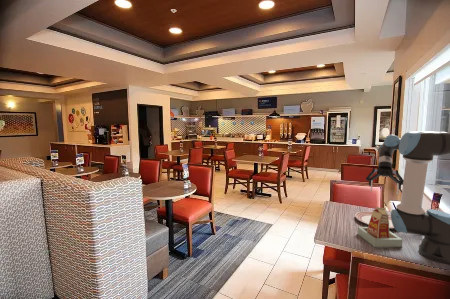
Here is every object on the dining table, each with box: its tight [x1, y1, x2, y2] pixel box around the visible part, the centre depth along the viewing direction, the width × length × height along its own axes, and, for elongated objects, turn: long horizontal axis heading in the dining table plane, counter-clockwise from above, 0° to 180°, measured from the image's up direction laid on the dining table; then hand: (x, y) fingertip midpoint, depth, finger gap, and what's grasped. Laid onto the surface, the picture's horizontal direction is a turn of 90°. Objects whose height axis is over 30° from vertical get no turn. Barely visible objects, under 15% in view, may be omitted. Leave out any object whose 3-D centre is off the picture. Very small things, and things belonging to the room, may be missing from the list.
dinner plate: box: [354, 210, 395, 230], centre depth 158 cm, size 27×27×3 cm
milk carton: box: [367, 206, 391, 238], centre depth 133 cm, size 9×9×20 cm
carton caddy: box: [357, 226, 404, 249], centre depth 134 cm, size 16×16×5 cm
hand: (384, 191), depth 142 cm, fingers open, 13 cm apart
